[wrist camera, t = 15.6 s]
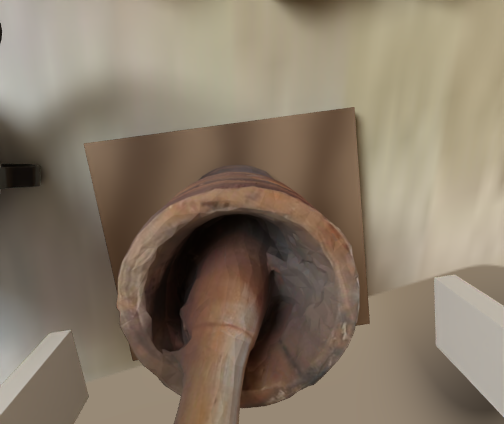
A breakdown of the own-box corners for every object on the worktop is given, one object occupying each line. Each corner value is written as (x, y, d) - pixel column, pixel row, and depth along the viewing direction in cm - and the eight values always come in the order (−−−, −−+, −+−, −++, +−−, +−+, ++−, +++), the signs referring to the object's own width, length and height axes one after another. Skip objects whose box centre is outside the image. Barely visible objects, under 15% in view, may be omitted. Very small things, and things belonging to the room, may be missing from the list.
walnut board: (347, 108, 26) (354, 107, 25) (362, 314, 29) (369, 323, 28) (91, 143, 25) (83, 143, 24) (137, 349, 29) (132, 360, 27)
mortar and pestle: (297, 312, 27) (461, 761, 8) (180, 319, 27) (47, 810, 7) (296, 155, 25) (534, 241, 5) (167, 160, 24) (-81, 270, 5)
